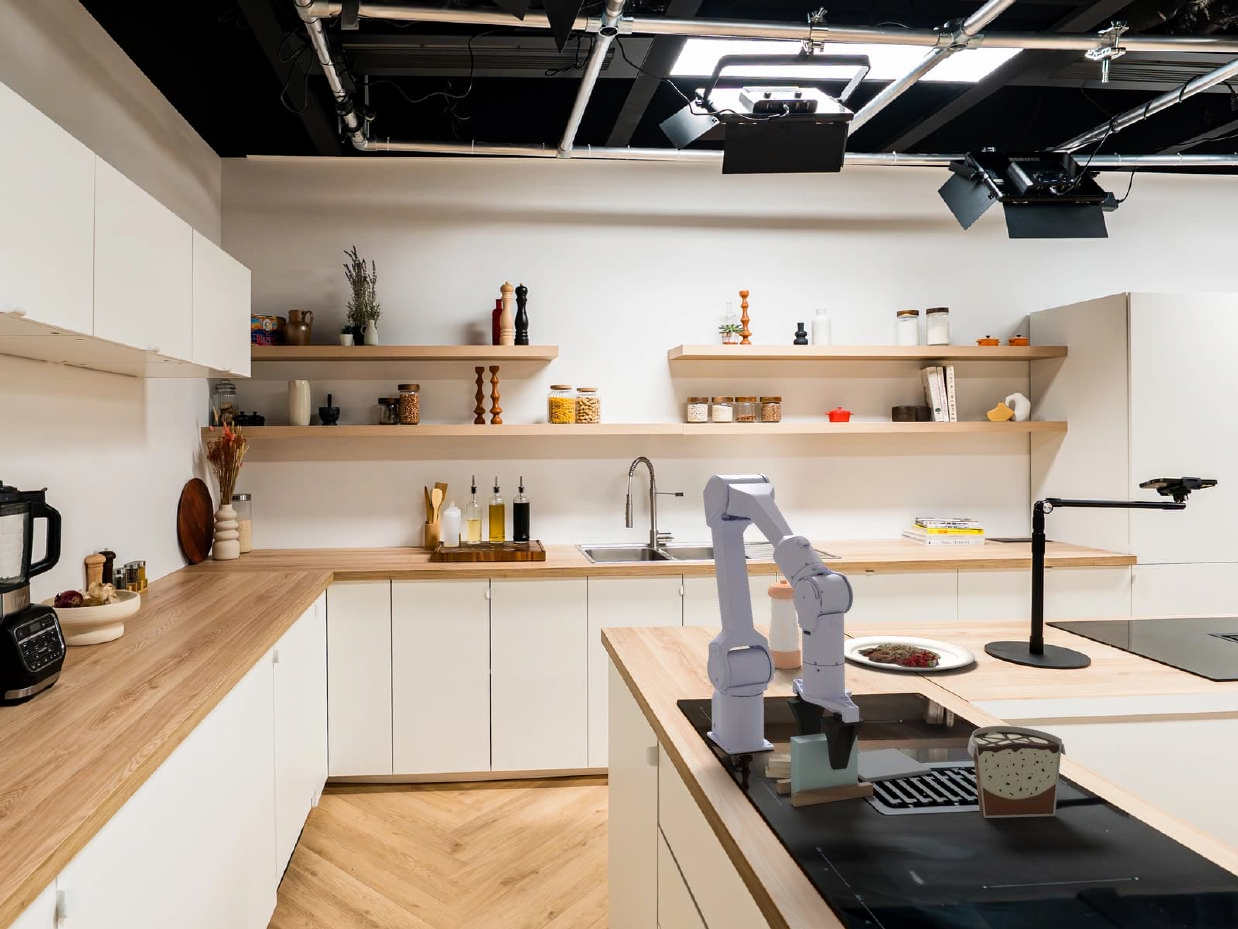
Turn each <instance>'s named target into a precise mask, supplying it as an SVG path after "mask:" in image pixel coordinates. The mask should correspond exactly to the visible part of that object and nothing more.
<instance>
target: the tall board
mask: <svg viewBox="0 0 1238 929" xmlns="http://www.w3.org/2000/svg"><path fill="white" fill-rule="evenodd" d="M858 753H859V752H858V736H857V737H856V739H855V741H854V744H853V747H852V750H851V754H850V758H849V762H848V766H847V769H839V770H833V769H832V768H831V765H830V761H829V753H828V744H827V739H826V735H825V732H823V733H820V734H813V735H805V736H800V735H797V736H790V755H791V778H790V779H791V792H790V794H791V793H792V792H799V791H806V790H814V789H821V788H828V787H835V786H843V785H850V784H857V783H859V782H858V781H859V780H858V779H859V778H858Z"/></svg>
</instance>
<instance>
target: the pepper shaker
mask: <svg viewBox="0 0 1238 929" xmlns="http://www.w3.org/2000/svg"><path fill="white" fill-rule="evenodd" d="M793 593H794V589H793V588H792V586H791V585H790V584H789V582H788V581H787V579H786V578H785V579H783V578H782V579H780V580H779V582H774V583H772V584H770V585H769V587H768V589H767V596H769V597H770V598H771V600H770V601H771V605H770V608H771V609H770V612H771V616H770V623H769V629H768V646H769V650H770V653H771V655H772V657H773V660H774V665H775V669H783V670H784V669H787V670H788V669H797V668H800V667H801V664H802V661H801V660H802V659H801V658H802V657H801V655H802V654H801V652H802V649H801V648H800V645H799V644H800V632H799V624H798V618H797V611H796V609H795V606H794V603H793V598H792V594H793Z"/></svg>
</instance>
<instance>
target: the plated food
mask: <svg viewBox="0 0 1238 929" xmlns="http://www.w3.org/2000/svg"><path fill="white" fill-rule="evenodd" d="M844 657H845V658H847V659H849V660H852V661H856V662H858V663H861V664H865V665H868V666H872V667H876V668H883V669H888V670H896V671H905V672H906V671H908V672H934V671H935V672H936V671H944V670H948V669H955V668H960V667H964V666H967V665H970V664H972V663H973V662H975V660H976V655H975V653H974V652H972V651H971V650H970V649H968V648H965V647H963V646H960V645H957V644H953V643H950V642H946V641H940V640H935V639H931V638H930V639H928V638H923V637H914V636H913V637H911V636H895V635H890V636H889V635H881V636H879V635H877V636H875V635H874V636H864V637H857V638H856V637H855V638H850V639H847V640H844Z"/></svg>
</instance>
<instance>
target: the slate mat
mask: <svg viewBox="0 0 1238 929" xmlns="http://www.w3.org/2000/svg"><path fill="white" fill-rule="evenodd" d="M929 774H932V769H931V768H929V767H927V766H926V765H925V764H922V763H921V762H919V761H917V760H916V759H914V758H912V757H910V756H908V755H907V754H905V753H903V752H902V751H899V750H898V749H896V748H887V749H886V748H885V749H878V750H872V751H862V752H858V779H860V780H862V782H863V783H864V782H870V783H871V782H872V783H873V782H878V781H879V782H880V781H886V780H894V779H901V778H908V777H915V776H923V775H929Z"/></svg>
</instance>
